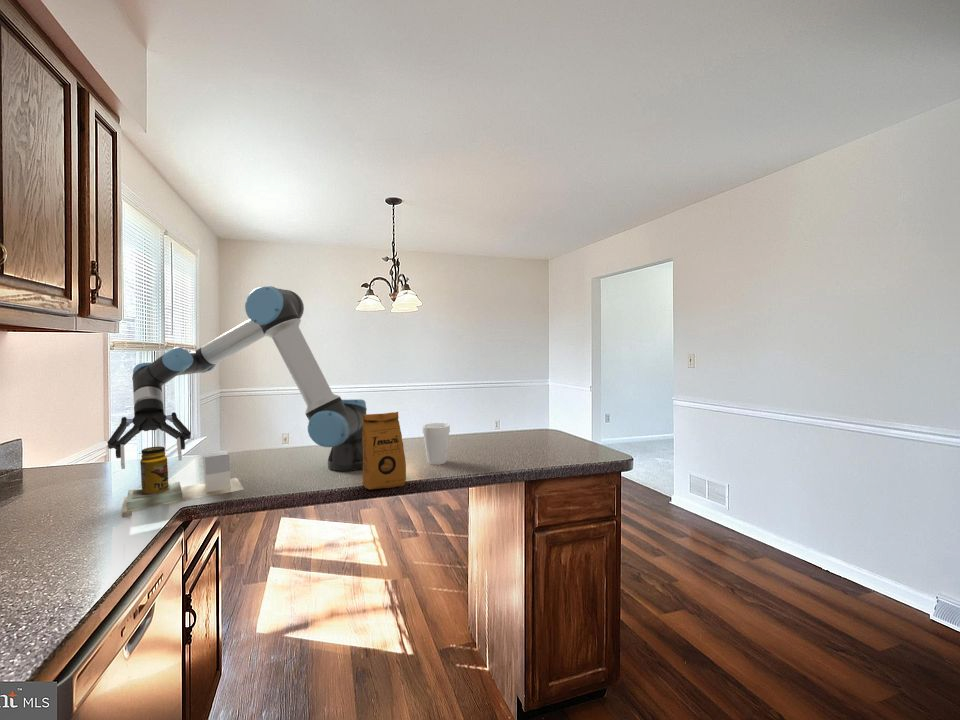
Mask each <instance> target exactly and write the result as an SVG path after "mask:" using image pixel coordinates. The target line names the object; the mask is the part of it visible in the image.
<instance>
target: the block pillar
mask: <svg viewBox="0 0 960 720" xmlns="http://www.w3.org/2000/svg"><path fill="white" fill-rule="evenodd" d="M202 457H203V458H202V460H203V480H204V481H203V483H204V484H205V489H206V491H207V492H211V491H216V490H222V489H227V488H231V486H230V479H231V469H230V468H231V467H230V454H229V452H228V451H227V450H226V449H223V450H218V451H209V452H203V453H202Z"/></svg>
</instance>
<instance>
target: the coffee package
mask: <svg viewBox="0 0 960 720" xmlns="http://www.w3.org/2000/svg"><path fill="white" fill-rule="evenodd" d="M362 423H363V437H362V445H363V469H362V484H363V486H364V488H365V489H368V490H379V489H380V490H381V489H391V488H396V487H404V486H405V483H406V481H407V464H406V463H407V462H406V455H405V449H404V443H403V435H402V430H401V425H400V421H399V412H398V411H395V412H387V413H386V412H385V413H372V414H370V413H366V415H363V417H362Z"/></svg>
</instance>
